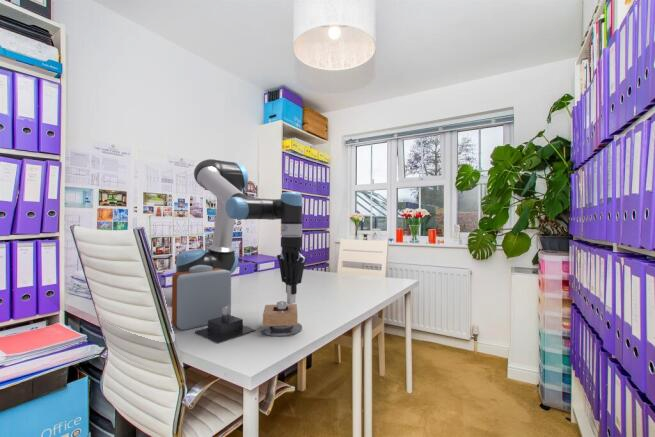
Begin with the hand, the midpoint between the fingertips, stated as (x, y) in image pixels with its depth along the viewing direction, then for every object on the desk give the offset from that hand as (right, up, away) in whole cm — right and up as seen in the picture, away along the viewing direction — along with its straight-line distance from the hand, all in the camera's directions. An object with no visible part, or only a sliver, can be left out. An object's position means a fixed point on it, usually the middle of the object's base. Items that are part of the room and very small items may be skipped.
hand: (291, 303), depth 110 cm
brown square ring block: (-3, -5, -4) cm, 7 cm away
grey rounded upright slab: (-33, -8, +3) cm, 34 cm away
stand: (-21, -8, -7) cm, 23 cm away
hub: (-3, -8, -3) cm, 9 cm away
